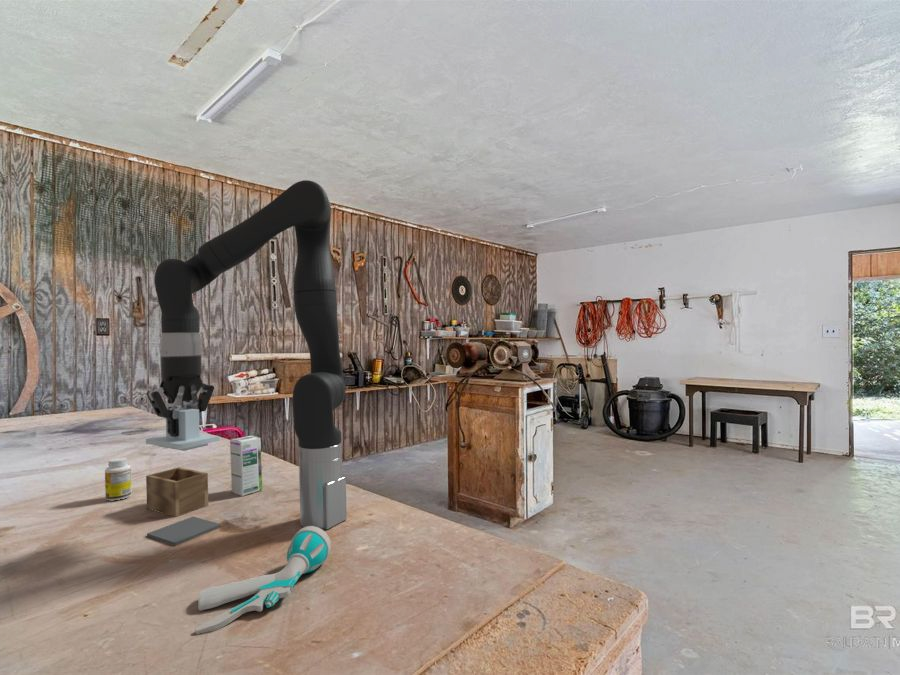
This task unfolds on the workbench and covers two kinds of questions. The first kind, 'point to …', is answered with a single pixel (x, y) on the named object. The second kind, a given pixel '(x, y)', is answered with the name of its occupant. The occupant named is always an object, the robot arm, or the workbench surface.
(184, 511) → the crate
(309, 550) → the garden hose nozzle
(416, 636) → the workbench surface
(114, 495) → the supplement bottle
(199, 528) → the mat
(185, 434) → the lid
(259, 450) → the syrup box
